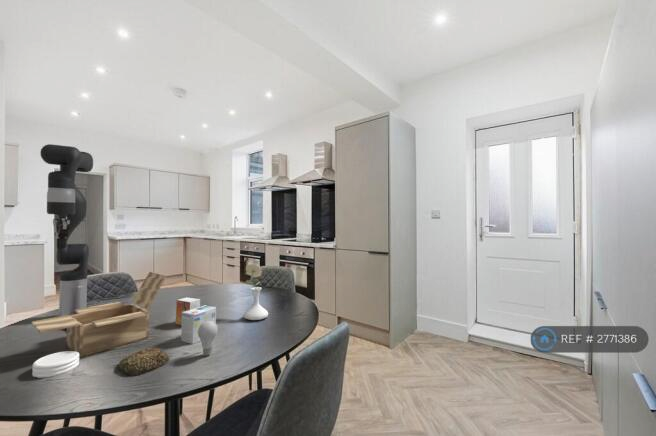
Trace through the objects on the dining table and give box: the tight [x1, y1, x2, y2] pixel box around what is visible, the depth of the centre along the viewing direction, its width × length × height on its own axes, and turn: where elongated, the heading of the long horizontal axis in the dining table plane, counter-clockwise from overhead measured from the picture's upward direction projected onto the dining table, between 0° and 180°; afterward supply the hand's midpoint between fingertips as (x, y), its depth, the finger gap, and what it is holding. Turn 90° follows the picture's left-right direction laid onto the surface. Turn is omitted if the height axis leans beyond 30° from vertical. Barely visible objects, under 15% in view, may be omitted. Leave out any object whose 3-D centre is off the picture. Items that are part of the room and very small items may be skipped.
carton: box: [31, 301, 150, 359], centre depth 100 cm, size 26×29×11 cm
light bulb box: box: [180, 304, 217, 345], centre depth 108 cm, size 11×7×11 cm, turn 154°
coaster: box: [31, 350, 80, 379], centre depth 84 cm, size 10×10×4 cm
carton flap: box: [131, 271, 168, 310], centre depth 114 cm, size 14×1×13 cm
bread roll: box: [118, 347, 171, 376], centre depth 87 cm, size 13×12×5 cm
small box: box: [175, 296, 201, 326], centre depth 123 cm, size 8×6×10 cm
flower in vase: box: [242, 263, 269, 321], centre depth 132 cm, size 13×11×25 cm
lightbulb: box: [198, 321, 219, 356], centre depth 94 cm, size 6×6×11 cm
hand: (61, 248), depth 104 cm, fingers closed
